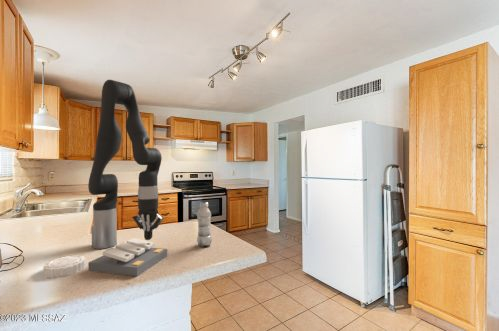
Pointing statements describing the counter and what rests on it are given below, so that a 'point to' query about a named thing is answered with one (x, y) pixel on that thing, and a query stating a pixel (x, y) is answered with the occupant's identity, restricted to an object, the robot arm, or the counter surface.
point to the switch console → (128, 263)
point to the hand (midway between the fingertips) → (148, 239)
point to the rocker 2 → (141, 243)
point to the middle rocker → (130, 248)
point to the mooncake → (64, 266)
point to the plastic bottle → (204, 225)
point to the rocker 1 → (118, 254)
